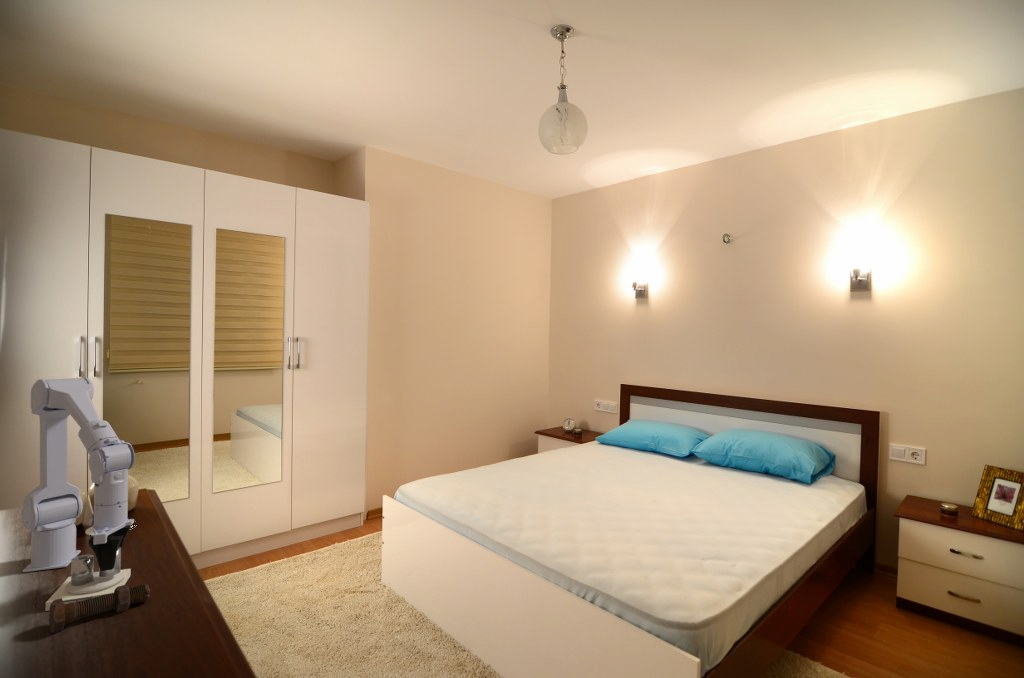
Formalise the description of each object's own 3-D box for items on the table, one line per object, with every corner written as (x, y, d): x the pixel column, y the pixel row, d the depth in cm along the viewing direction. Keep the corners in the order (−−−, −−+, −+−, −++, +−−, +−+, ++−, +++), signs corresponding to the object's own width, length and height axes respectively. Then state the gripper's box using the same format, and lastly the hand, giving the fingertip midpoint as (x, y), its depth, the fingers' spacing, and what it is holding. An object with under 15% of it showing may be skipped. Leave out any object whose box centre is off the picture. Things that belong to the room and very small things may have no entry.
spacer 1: (74, 579, 110) (75, 555, 110) (95, 576, 111) (96, 553, 111) (68, 587, 106) (68, 562, 106) (89, 584, 108) (90, 559, 108)
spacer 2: (102, 570, 111) (102, 547, 111) (122, 568, 113) (123, 544, 113) (96, 578, 108) (97, 553, 108) (117, 575, 110) (118, 551, 110)
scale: (69, 584, 112) (69, 573, 112) (131, 575, 117) (131, 564, 117) (44, 612, 101) (44, 599, 101) (114, 601, 105) (114, 589, 105)
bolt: (148, 611, 106) (50, 640, 94) (143, 592, 109) (47, 617, 97) (154, 591, 104) (54, 617, 93) (148, 571, 107) (51, 595, 96)
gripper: (124, 510, 105) (123, 577, 105) (142, 490, 119) (141, 550, 119) (80, 514, 103) (79, 583, 103) (104, 493, 116) (103, 554, 116)
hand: (110, 565), depth 110 cm, fingers closed on spacer 2, 3 cm apart
